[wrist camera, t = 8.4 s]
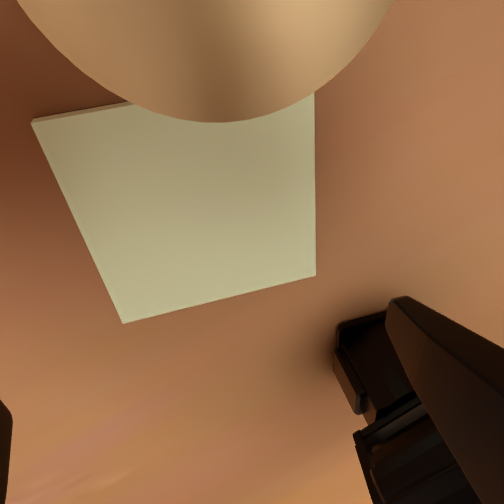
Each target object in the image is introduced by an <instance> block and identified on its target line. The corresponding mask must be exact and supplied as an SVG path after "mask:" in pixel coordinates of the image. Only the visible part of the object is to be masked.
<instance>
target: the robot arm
mask: <svg viewBox="0 0 504 504" xmlns="http://www.w3.org/2000/svg"><path fill="white" fill-rule="evenodd" d="M333 371H334V373H335V375H336V377H337V379H338V381H339V383H340V385H341V387H342V389H343V391H344V393H345V396H346V398H347V400H348V402H349V404H350V406H351V408H352V410H353V412H354V413H355V414H357V415H361V414H363V416H364V418H365V420H366V422H367V424H368V426H367V427H365V428H364V429H362V430H358V431H356V432H355V433H353V438H354V441H355V444H356V446H355V448H356V451H357V454H358V458H359V461H360V464H361V467H362V470H363V473H364V477H365V480H366V483H367V486H368V489H369V493H370V496H371V499H372V502H373V504H504V348H502V347H500V346H498V345H497V344H495V343H493V342H491V341H489V340H487V339H486V338H484V337H482V336H480V335H478V334H476V333H475V332H473V331H471V330H469V329H467V328H466V327H464V326H462V325H460V324H458V323H456V322H455V321H453V320H451V319H449V318H447V317H446V316H444V315H442V314H440V313H438V312H436V311H435V310H433V309H431V308H429V307H427V306H425V305H424V304H422V303H420V302H418V301H416V300H415V299H413V298H411V297H409V296H401V297H396V298H392V299H391V300H390V301H389V304H388V309H387V312H384V313H381V314H377V315H373V316H369V317H366V318H362V319H358V320H354V321H351V322H347V323H343V324H341V325H340V326H339V327H338V328H337V340H336V348H335V350H334V356H333ZM12 426H13V419H12V415H11V413H10V411H9V410H8V408H7V407H6V406H5V405H4V404H3V402H2V401H1V400H0V504H5V499H6V493H7V484H8V473H9V461H10V449H11V437H12Z"/></svg>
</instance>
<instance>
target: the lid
mask: <svg viewBox="0 0 504 504" xmlns="http://www.w3.org/2000/svg"><path fill="white" fill-rule="evenodd" d="M16 1H17V2H18V3H19V5H20V6H21V7H22V9H23V10H24V12H25V13H26V14H27V16H28V17H29V18H30V20H31V21H32V22H33V23H34V24H35V26H36V27H37V28H38V29H39V30H40V31H41V32H42V33H43V34H44V36H45V37H46V38H47V39H48V40H49V41H50V42H51V43H52V44H53V46H54V47H55V48H56V49H57V50H58V51H60V52H61V53H62V54H63V55H64V56H65V57H66V58H67V59H68V60H69V61H71V62H72V63H73V64H74V65H75V66H76V67H77V68H78V69H79V70H81V71H82V72H83V73H85V74H86V75H87V76H89V77H90V78H92V79H93V80H94V81H96V82H97V83H99V84H100V85H101V86H103V87H104V88H105V89H107V90H109V91H111V92H113V93H114V94H116V95H118V96H120V97H121V98H123V99H125V100H127V101H129V102H130V103H133V104H135V105H138V106H140V107H143V108H145V109H147V110H150V111H152V112H155V113H158V114H162V115H165V116H169V117H173V118H176V119H181V120H188V121H195V122H205V123H227V122H235V121H243V120H249V119H253V118H257V117H261V116H265V115H268V114H271V113H274V112H276V111H279V110H281V109H284V108H286V107H289V106H291V105H293V104H295V103H296V102H298V101H300V100H302V99H304V98H305V97H307V96H309V95H311V94H312V93H314V92H315V91H316V90H318V89H319V88H320V87H322V86H323V85H325V84H326V83H327V82H329V81H330V80H331V79H332V78H333V77H335V76H336V75H337V74H338V73H339V72H340V71H341V70H342V69H343V68H344V67H345V66H347V65H348V64H349V63H350V62H351V60H352V59H353V58H354V57H355V56H356V55H357V54H358V52H359V51H360V50H361V49H362V48H363V47H364V46H365V45H366V43H367V42H368V41H369V39H370V38H371V36H372V35H373V34H374V32H375V31H376V29H377V28H378V27H379V25H380V24H381V22H382V21H383V19H384V18H385V16H386V14H387V13H388V11H389V9H390V7H391V6H392V4H393V2H394V0H16Z"/></svg>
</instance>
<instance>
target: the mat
mask: <svg viewBox="0 0 504 504" xmlns="http://www.w3.org/2000/svg"><path fill="white" fill-rule="evenodd" d="M31 126H32V128H33V130H34V132H35V134H36V136H37V139H38V141H39V143H40V145H41V147H42V149H43V152H44V154H45V156H46V158H47V160H48V162H49V165H50V167H51V169H52V171H53V173H54V175H55V178H56V180H57V182H58V184H59V186H60V188H61V191H62V193H63V195H64V197H65V199H66V201H67V204H68V206H69V208H70V210H71V212H72V214H73V217H74V219H75V221H76V223H77V225H78V227H79V230H80V232H81V234H82V236H83V238H84V240H85V243H86V245H87V247H88V249H89V251H90V253H91V256H92V258H93V260H94V262H95V264H96V267H97V269H98V271H99V273H100V275H101V277H102V280H103V282H104V284H105V286H106V288H107V290H108V293H109V295H110V297H111V299H112V301H113V303H114V306H115V308H116V310H117V312H118V314H119V316H120V319H121V321H122V323H123V324H124V323H128V322H132V321H136V320H140V319H144V318H148V317H152V316H156V315H160V314H164V313H168V312H172V311H176V310H180V309H184V308H188V307H192V306H196V305H200V304H204V303H208V302H212V301H216V300H220V299H224V298H228V297H232V296H236V295H240V294H244V293H248V292H252V291H256V290H260V289H264V288H268V287H272V286H276V285H280V284H284V283H288V282H292V281H296V280H300V279H304V278H308V277H312V276H316V235H315V121H314V93H312V94H311V95H309V96H307V97H305V98H304V99H302V100H300V101H298V102H296V103H295V104H293V105H291V106H289V107H286V108H284V109H281V110H279V111H276V112H274V113H271V114H268V115H265V116H261V117H257V118H253V119H249V120H243V121H235V122H227V123H205V122H195V121H188V120H181V119H176V118H173V117H169V116H165V115H162V114H158V113H155V112H152V111H150V110H147V109H145V108H143V107H140V106H138V105H135V104H133V103H130V102H129V101H128V102H123V103H117V104H111V105H106V106H100V107H95V108H89V109H84V110H78V111H73V112H67V113H62V114H56V115H51V116H45V117H40V118H34V119H33V120H32V122H31Z"/></svg>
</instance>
